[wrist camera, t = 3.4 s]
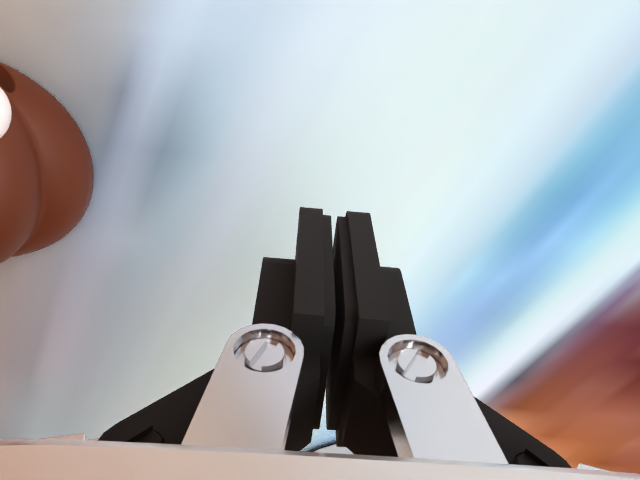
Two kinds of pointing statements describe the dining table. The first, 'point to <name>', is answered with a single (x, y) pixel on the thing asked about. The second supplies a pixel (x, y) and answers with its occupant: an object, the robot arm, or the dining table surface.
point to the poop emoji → (38, 167)
